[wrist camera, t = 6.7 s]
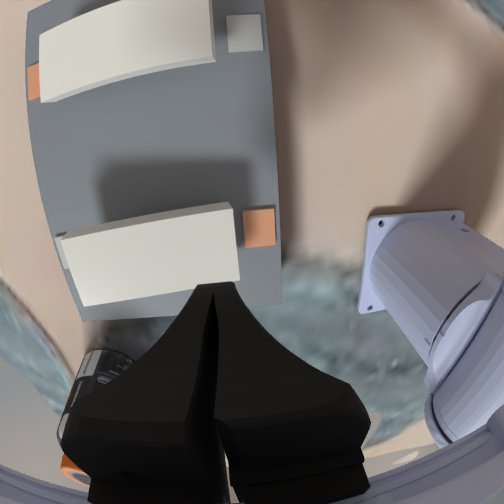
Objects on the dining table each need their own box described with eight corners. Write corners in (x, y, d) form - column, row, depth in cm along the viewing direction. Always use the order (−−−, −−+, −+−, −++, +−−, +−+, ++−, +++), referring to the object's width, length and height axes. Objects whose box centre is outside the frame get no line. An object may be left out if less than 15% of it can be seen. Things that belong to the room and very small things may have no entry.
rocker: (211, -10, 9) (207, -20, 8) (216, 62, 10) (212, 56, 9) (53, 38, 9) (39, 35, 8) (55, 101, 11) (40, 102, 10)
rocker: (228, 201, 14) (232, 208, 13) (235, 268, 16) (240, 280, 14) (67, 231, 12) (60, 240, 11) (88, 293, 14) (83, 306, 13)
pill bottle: (73, 346, 22) (30, 453, 12) (133, 346, 22) (104, 470, 12) (98, 390, 24) (73, 488, 14) (153, 391, 25) (140, 500, 14)
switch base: (253, -22, 12) (260, -49, 9) (274, 278, 21) (284, 309, 17) (51, 21, 11) (22, 10, 8) (96, 296, 20) (79, 326, 16)
